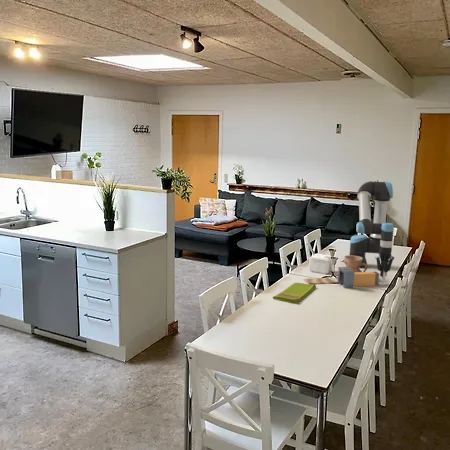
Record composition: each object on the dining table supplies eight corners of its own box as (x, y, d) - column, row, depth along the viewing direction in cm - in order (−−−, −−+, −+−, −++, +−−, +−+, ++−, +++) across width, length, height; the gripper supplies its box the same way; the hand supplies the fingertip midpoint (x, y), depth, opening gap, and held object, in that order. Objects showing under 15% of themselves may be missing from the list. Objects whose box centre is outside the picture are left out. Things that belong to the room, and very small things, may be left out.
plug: (374, 283, 309) (375, 271, 307) (378, 285, 305) (379, 273, 303) (349, 284, 305) (350, 272, 304) (353, 286, 301) (354, 274, 299)
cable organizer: (333, 271, 334) (334, 256, 332) (328, 275, 325) (329, 259, 323) (313, 268, 342) (314, 253, 339) (307, 271, 333) (308, 255, 331)
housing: (345, 282, 308) (347, 265, 306) (353, 287, 298) (354, 270, 296) (337, 283, 307) (338, 266, 304) (344, 288, 296) (345, 270, 294)
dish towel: (272, 299, 272) (272, 294, 272) (293, 284, 303) (294, 279, 302) (296, 305, 265) (297, 299, 264) (316, 288, 296) (316, 283, 295)
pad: (331, 278, 316) (331, 277, 316) (337, 283, 306) (337, 282, 306) (303, 279, 312) (303, 278, 312) (309, 284, 302) (309, 283, 302)
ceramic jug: (336, 277, 319) (338, 257, 316) (341, 272, 332) (343, 253, 329) (363, 282, 311) (365, 262, 308) (367, 276, 324) (369, 257, 321)
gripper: (391, 245, 308) (388, 279, 312) (373, 245, 305) (370, 279, 310) (398, 247, 301) (394, 282, 305) (379, 248, 298) (376, 283, 302)
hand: (382, 281), depth 307 cm, fingers closed
